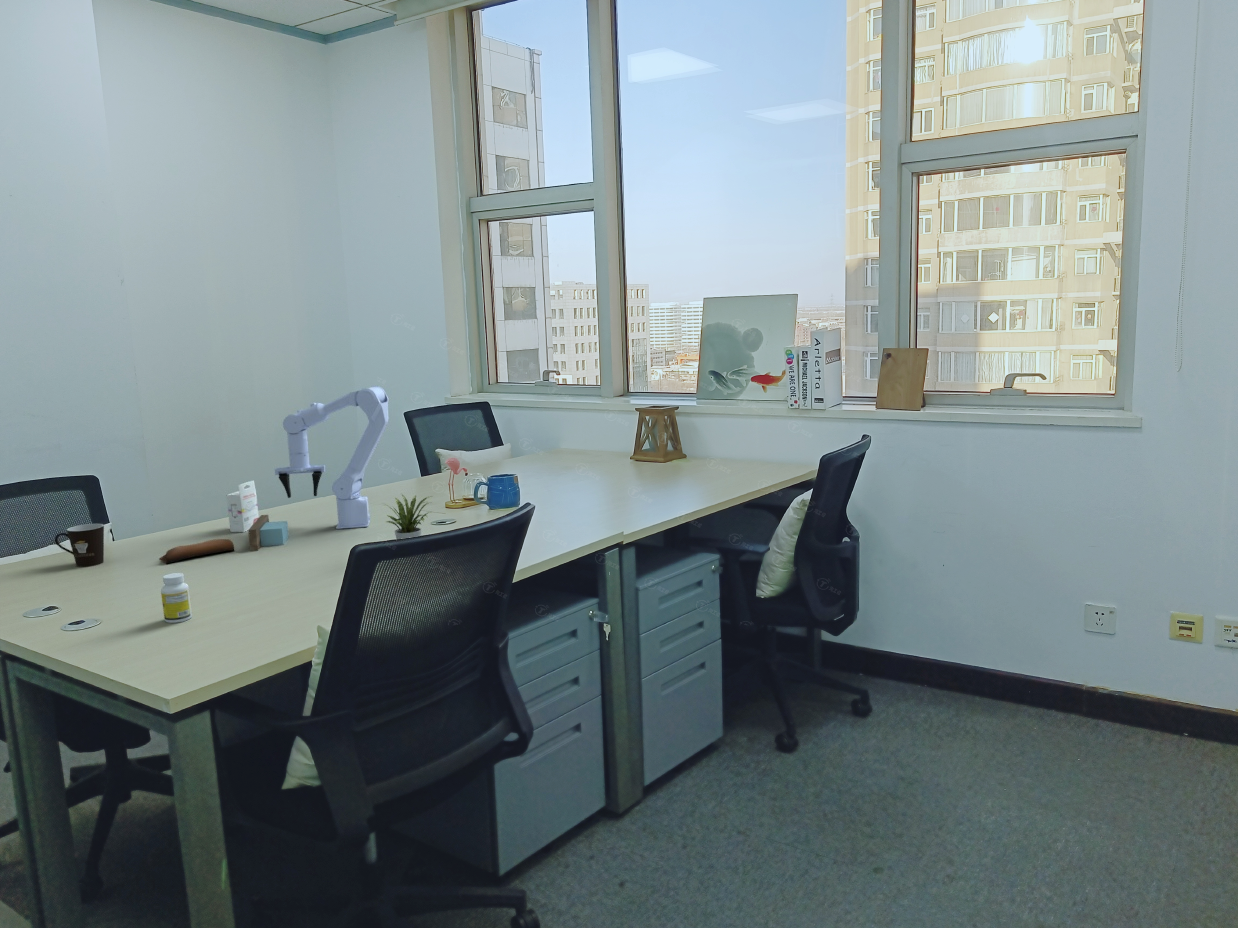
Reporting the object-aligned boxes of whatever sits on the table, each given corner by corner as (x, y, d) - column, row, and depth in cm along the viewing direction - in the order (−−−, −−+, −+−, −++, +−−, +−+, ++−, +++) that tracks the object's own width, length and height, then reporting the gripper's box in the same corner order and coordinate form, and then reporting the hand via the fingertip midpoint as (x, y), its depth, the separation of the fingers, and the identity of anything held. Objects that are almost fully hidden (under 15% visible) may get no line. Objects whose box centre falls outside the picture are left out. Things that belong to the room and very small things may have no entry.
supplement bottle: (170, 615, 201) (165, 572, 199) (196, 614, 201) (191, 571, 200) (160, 624, 195) (155, 579, 194) (186, 622, 196) (181, 578, 194)
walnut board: (270, 534, 276) (268, 514, 275) (257, 550, 257) (255, 529, 256) (263, 534, 276) (261, 515, 275) (250, 550, 256) (248, 529, 255)
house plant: (451, 548, 252) (447, 489, 250) (420, 561, 240) (416, 499, 237) (409, 544, 258) (405, 487, 256) (376, 556, 246) (372, 496, 243)
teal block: (288, 537, 272) (287, 520, 271) (283, 545, 263) (282, 528, 262) (267, 538, 271) (265, 522, 270) (261, 547, 261) (259, 529, 261)
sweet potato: (223, 546, 262) (226, 528, 259) (233, 562, 259) (235, 544, 255) (156, 559, 250) (158, 540, 247) (165, 576, 246) (167, 557, 243)
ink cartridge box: (245, 525, 289) (241, 479, 286) (260, 526, 288) (255, 479, 285) (229, 532, 280) (224, 484, 278) (243, 532, 279) (239, 484, 277)
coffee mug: (115, 560, 250) (111, 524, 249) (88, 568, 242) (83, 531, 241) (83, 557, 254) (78, 522, 253) (55, 566, 246) (50, 529, 245)
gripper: (271, 456, 276) (275, 500, 279) (321, 453, 279) (325, 497, 281) (275, 452, 283) (279, 496, 285) (324, 450, 286) (328, 493, 288)
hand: (302, 496), depth 284 cm, fingers open, 7 cm apart
